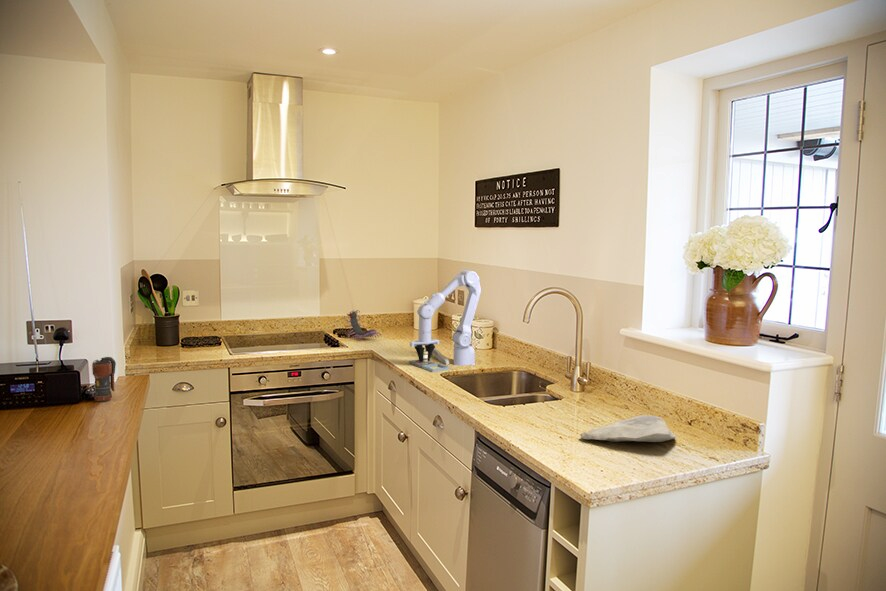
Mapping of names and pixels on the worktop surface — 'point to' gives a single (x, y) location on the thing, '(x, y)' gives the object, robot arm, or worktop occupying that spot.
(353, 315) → the toy
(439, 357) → the wrench
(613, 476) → the worktop surface
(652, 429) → the decorative stone
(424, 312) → the robot arm
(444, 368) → the parts tray
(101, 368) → the grenade
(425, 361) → the cylinder
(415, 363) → the fuse block
